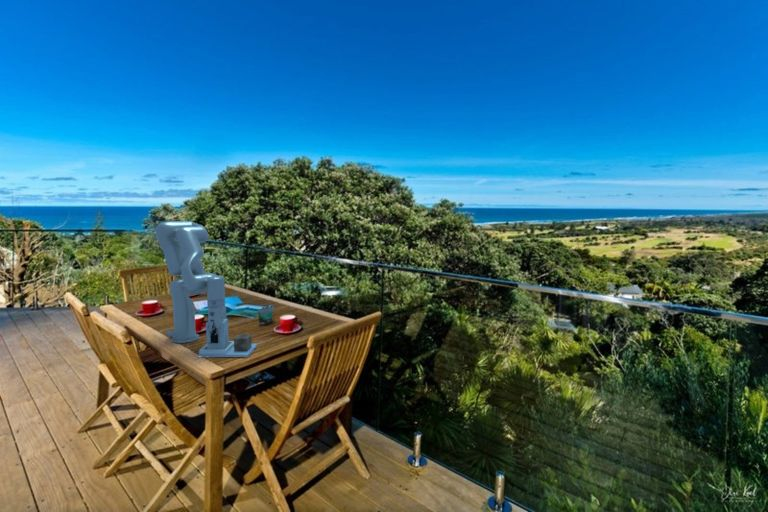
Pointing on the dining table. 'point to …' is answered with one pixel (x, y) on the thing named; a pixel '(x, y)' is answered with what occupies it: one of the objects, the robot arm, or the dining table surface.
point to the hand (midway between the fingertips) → (217, 339)
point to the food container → (265, 315)
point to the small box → (219, 336)
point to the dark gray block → (242, 342)
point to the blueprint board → (226, 351)
